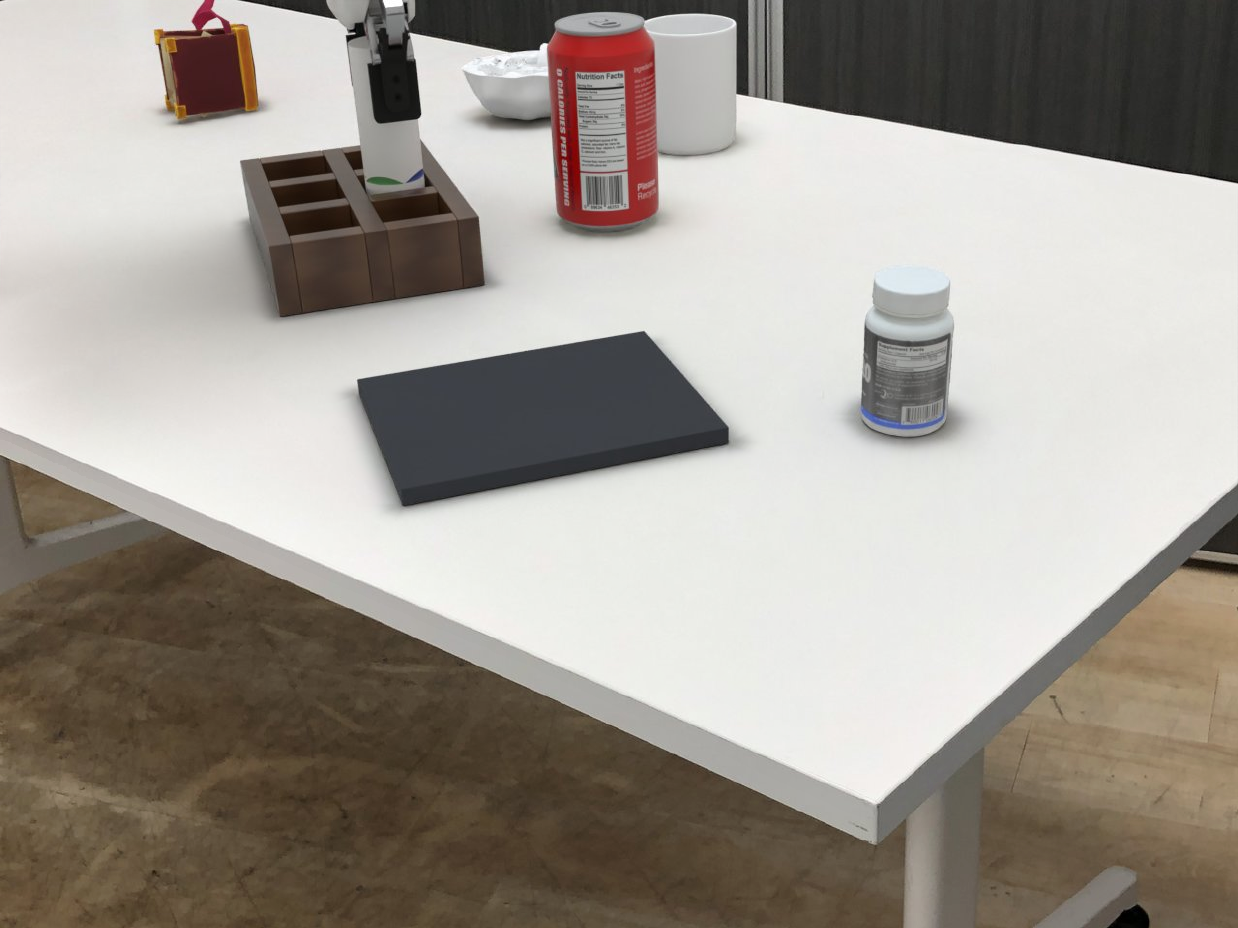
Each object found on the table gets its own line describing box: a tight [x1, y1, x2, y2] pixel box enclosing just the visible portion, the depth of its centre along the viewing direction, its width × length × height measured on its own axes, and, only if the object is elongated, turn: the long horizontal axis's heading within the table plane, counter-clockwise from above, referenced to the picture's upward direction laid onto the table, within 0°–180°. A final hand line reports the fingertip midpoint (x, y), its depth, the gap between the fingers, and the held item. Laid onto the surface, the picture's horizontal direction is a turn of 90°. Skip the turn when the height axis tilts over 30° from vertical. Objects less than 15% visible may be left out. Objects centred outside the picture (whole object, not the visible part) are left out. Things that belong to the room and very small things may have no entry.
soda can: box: [547, 11, 660, 233], centre depth 107 cm, size 8×8×15 cm
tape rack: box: [239, 138, 486, 317], centre depth 105 cm, size 14×20×5 cm
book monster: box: [153, 0, 259, 120], centre depth 142 cm, size 11×9×12 cm
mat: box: [356, 330, 730, 506], centre depth 82 cm, size 18×14×1 cm
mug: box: [644, 13, 738, 156], centre depth 124 cm, size 12×8×10 cm
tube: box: [347, 36, 425, 196], centre depth 104 cm, size 4×4×15 cm
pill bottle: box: [860, 264, 955, 438], centre depth 78 cm, size 5×5×8 cm
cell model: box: [461, 42, 551, 121], centre depth 135 cm, size 10×12×7 cm
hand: (386, 103), depth 102 cm, fingers open, 8 cm apart
